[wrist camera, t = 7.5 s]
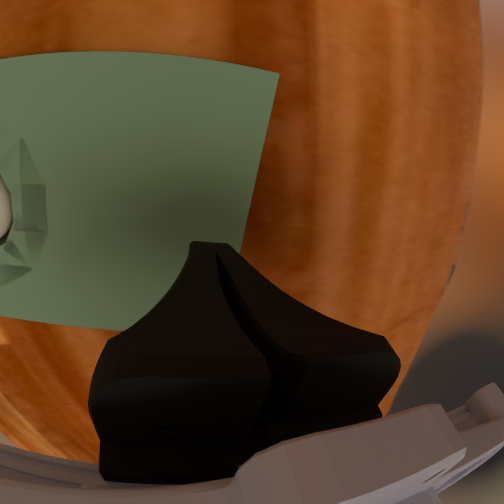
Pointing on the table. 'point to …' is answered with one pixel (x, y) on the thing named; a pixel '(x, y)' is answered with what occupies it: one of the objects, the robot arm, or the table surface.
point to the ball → (5, 208)
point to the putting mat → (121, 176)
